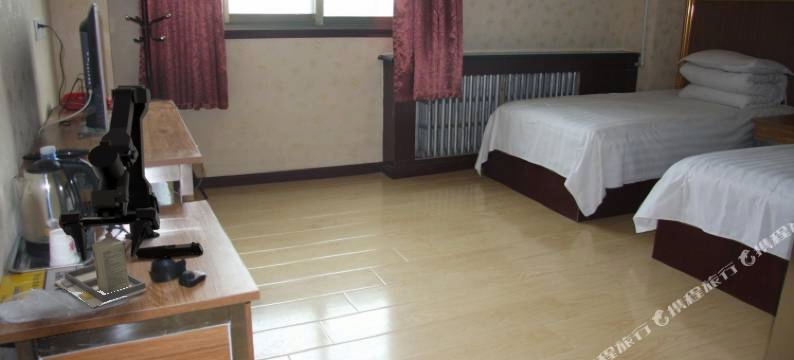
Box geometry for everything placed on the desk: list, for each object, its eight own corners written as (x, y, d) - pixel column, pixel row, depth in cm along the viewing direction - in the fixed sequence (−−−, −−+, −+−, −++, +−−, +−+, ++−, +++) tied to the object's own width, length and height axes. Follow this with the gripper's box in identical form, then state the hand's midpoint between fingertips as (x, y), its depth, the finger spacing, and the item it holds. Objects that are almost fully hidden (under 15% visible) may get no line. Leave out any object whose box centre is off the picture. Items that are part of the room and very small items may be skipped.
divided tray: (55, 283, 134) (54, 275, 134) (106, 268, 142) (105, 261, 142) (93, 308, 123) (92, 300, 123) (146, 290, 131) (145, 282, 131)
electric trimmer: (136, 257, 151) (134, 245, 150) (203, 250, 154) (202, 238, 154) (134, 263, 147) (132, 250, 146) (203, 256, 151) (201, 243, 150)
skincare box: (121, 281, 134) (115, 236, 132) (130, 287, 131) (125, 241, 129) (96, 288, 131) (90, 243, 128) (105, 294, 128) (99, 248, 125)
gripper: (54, 175, 127) (45, 245, 119) (152, 170, 130) (149, 238, 123) (70, 201, 136) (62, 268, 128) (161, 196, 140) (158, 261, 132)
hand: (108, 258), depth 128 cm, fingers open, 9 cm apart
